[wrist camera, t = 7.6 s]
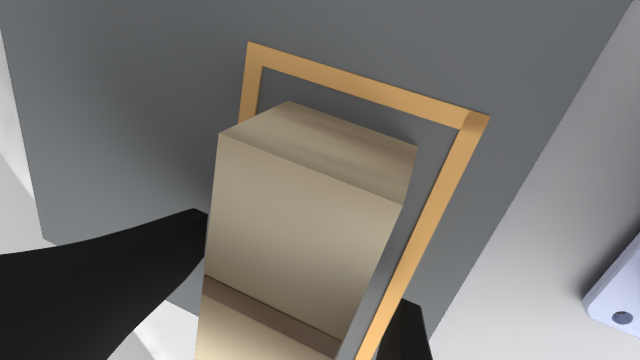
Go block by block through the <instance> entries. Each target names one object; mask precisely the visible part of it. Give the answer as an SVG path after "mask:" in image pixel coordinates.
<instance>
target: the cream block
mask: <svg viewBox="0 0 640 360" xmlns="http://www.w3.org/2000/svg"><path fill="white" fill-rule="evenodd" d="M418 148H419V147H418V146H415V145H412V144H410V143H407V142H404V141H401V140H398V139H396V138H393V137H390V136H387V135H384V134H382V133H379V132H376V131H373V130H370V129H368V128H365V127H362V126H359V125H356V124H354V123H351V122H348V121H345V120H342V119H339V118H337V117H334V116H331V115H328V114H325V113H323V112H320V111H317V110H314V109H311V108H309V107H306V106H303V105H300V104H297V103H295V102H292V101H289V100H288V101H286V102H284V103H282V104H280V105H278V106H275V107H273V108H271V109H269V110H267V111H265V112H263V113H261V114H258V115H256V116H254V117H252V118H250V119H248V120H246V121H244V122H241V123H239V124H237V125H235V126H233V127H231V128H229V129H227V130H224V131H222V132H220V133H219V136H218V145H217V155H216V164H215V173H214V182H213V191H212V201H211V210H210V219H209V228H208V237H207V247H206V256H205V265H204V274H203V284H202V293H201V302H200V311H199V320H198V330H197V339H196V348H195V357H194V360H336V357H337V355H338V353H339V351H340V348H341V346H342V344H343V341H344V339H345V337H346V335H347V332H348V330H349V328H350V326H351V323H352V321H353V319H354V316H355V314H356V312H357V310H358V307H359V305H360V303H361V300H362V298H363V296H364V294H365V291H366V289H367V287H368V284H369V282H370V280H371V278H372V275H373V273H374V271H375V269H376V266H377V264H378V262H379V259H380V257H381V255H382V253H383V250H384V248H385V246H386V243H387V241H388V239H389V237H390V234H391V232H392V230H393V227H394V225H395V223H396V221H397V218H398V216H399V214H400V212H401V209H402V207H403V204H404V200H405V197H406V193H407V189H408V185H409V181H410V178H411V174H412V170H413V166H414V163H415V159H416V155H417V151H418Z"/></svg>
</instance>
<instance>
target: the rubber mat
mask: <svg viewBox="0 0 640 360" xmlns="http://www.w3.org/2000/svg"><path fill="white" fill-rule="evenodd" d="M632 1H633V0H0V29H1V33H2V38H3V43H4V48H5V53H6V58H7V63H8V68H9V73H10V78H11V83H12V88H13V92H14V97H15V102H16V107H17V112H18V117H19V122H20V127H21V132H22V137H23V142H24V147H25V151H26V156H27V161H28V166H29V171H30V176H31V181H32V186H33V191H34V196H35V201H36V206H37V210H38V215H39V220H40V225H41V230H42V235H43V238H44V239H45V240H47V241H49V242H51V243H53V244H55V245H57V246H61V245H65V244H70V243H75V242H80V241H84V240H88V239H92V238H96V237H100V236H104V235H107V234H111V233H115V232H118V231H122V230H125V229H129V228H132V227H135V226H138V225H142V224H145V223H148V222H151V221H154V220H157V219H160V218H163V217H166V216H169V215H172V214H175V213H178V212H181V211H185V210H188V209H192V208H195V209H198V210H200V211H202V212H205V213H207V214H208V222H207V233H206V244H205V255H204V258H203V259H202V260H201V262H200V263H199V264H198V265H197V267H196V268H195V269H194V270H193V272H192V273H191V274H190V275H189V276H188V278H187V279H186V280H185V281H184V282H183V283H182V284H181V285H180V286H179V287H178V288H177V289H176V290H175V291H174V292H172V293H171V294H170V295H169V296H168V297H167V298H166V299H165V300H167V301H168V302H170V303H172V304H174V305H176V306H178V307H180V308H182V309H184V310H186V311H188V312H190V313H192V314H194V315H196V316H198V317H199V311H200V302H201V293H202V284H203V274H204V265H205V256H206V247H207V237H208V228H209V219H210V210H211V201H212V191H213V182H214V173H215V164H216V155H217V145H218V136H219V133H220V132H222V131H224V130H227V129H229V128H231V127H233V126H235V125H237V124H239V123H241V122H244V121H246V120H248V119H250V118H252V117H254V116H256V115H258V114H261V113H263V112H265V111H267V110H269V109H271V108H273V107H275V106H278V105H280V104H282V103H284V102H286V101H288V100H289V101H292V102H295V103H297V104H300V105H303V106H306V107H309V108H311V109H314V110H317V111H320V112H323V113H325V114H328V115H331V116H334V117H337V118H339V119H342V120H345V121H348V122H351V123H354V124H356V125H359V126H362V127H365V128H368V129H370V130H373V131H376V132H379V133H382V134H384V135H387V136H390V137H393V138H396V139H398V140H401V141H404V142H407V143H410V144H412V145H415V146H418V147H419V148H418V151H417V155H416V159H415V163H414V166H413V170H412V174H411V178H410V181H409V185H408V189H407V193H406V197H405V200H404V204H403V207H402V209H401V212H400V214H399V216H398V218H397V221H396V223H395V225H394V227H393V230H392V232H391V234H390V237H389V239H388V241H387V243H386V246H385V248H384V250H383V253H382V255H381V257H380V259H379V262H378V264H377V266H376V269H375V271H374V273H373V275H372V278H371V280H370V282H369V284H368V287H367V289H366V291H365V294H364V296H363V298H362V300H361V303H360V305H359V307H358V310H357V312H356V314H355V316H354V319H353V321H352V323H351V326H350V328H349V330H348V332H347V335H346V337H345V339H344V341H343V344H342V346H341V348H340V351H339V353H338V355H337V357H336V360H376V356H377V353H378V349H379V345H380V342H381V338H382V336H383V334H384V332H385V330H386V328H387V326H388V324H389V322H390V320H391V318H392V316H393V314H394V312H395V310H396V308H397V306H398V304H399V302H400V300H401V298H403V299H406V300H408V301H410V302H413V303H415V304H417V305H420V306H421V308H422V312H423V318H424V324H425V329H426V333H427V338H428V341H429V339H430V337H431V336H432V334H433V332H434V331H435V329H436V327H437V326H438V324H439V322H440V321H441V319H442V317H443V316H444V314H445V312H446V311H447V309H448V307H449V306H450V304H451V302H452V301H453V299H454V297H455V296H456V294H457V292H458V291H459V289H460V287H461V286H462V284H463V282H464V281H465V279H466V277H467V276H468V274H469V272H470V271H471V269H472V267H473V266H474V264H475V262H476V261H477V259H478V257H479V256H480V254H481V252H482V251H483V249H484V247H485V246H486V244H487V242H488V241H489V239H490V237H491V236H492V234H493V232H494V231H495V229H496V227H497V226H498V224H499V222H500V221H501V219H502V217H503V216H504V214H505V212H506V211H507V209H508V207H509V206H510V204H511V202H512V201H513V199H514V197H515V196H516V194H517V192H518V191H519V189H520V187H521V186H522V184H523V182H524V181H525V179H526V177H527V176H528V174H529V172H530V171H531V169H532V167H533V166H534V164H535V162H536V161H537V159H538V157H539V156H540V154H541V152H542V151H543V149H544V147H545V146H546V144H547V142H548V141H549V139H550V137H551V136H552V134H553V132H554V131H555V129H556V127H557V126H558V124H559V122H560V121H561V119H562V117H563V116H564V114H565V112H566V111H567V109H568V107H569V106H570V104H571V102H572V101H573V99H574V97H575V96H576V94H577V92H578V91H579V89H580V87H581V86H582V84H583V82H584V81H585V79H586V77H587V76H588V74H589V72H590V71H591V69H592V67H593V66H594V64H595V62H596V61H597V59H598V57H599V56H600V54H601V52H602V51H603V49H604V47H605V46H606V44H607V42H608V41H609V39H610V37H611V36H612V34H613V32H614V31H615V29H616V27H617V26H618V24H619V22H620V21H621V19H622V17H623V16H624V14H625V12H626V11H627V9H628V7H629V6H630V4H631V2H632Z"/></svg>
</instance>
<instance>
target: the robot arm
mask: <svg viewBox="0 0 640 360" xmlns="http://www.w3.org/2000/svg"><path fill="white" fill-rule="evenodd" d="M207 222H208V214H207V213H205V212H202V211H200V210H198V209H195V208H192V209H188V210H185V211H181V212H178V213H175V214H172V215H169V216H166V217H163V218H160V219H157V220H154V221H151V222H148V223H145V224H142V225H138V226H135V227H132V228H129V229H125V230H122V231H118V232H115V233H111V234H107V235H104V236H100V237H96V238H92V239H88V240H84V241H80V242H75V243H70V244H65V245H61V246H55V247H49V248H43V249H37V250H30V251H24V252H17V253H10V254H1V255H0V360H107V359H108V357H109V356H110V355H111V354H112V353H113V352H114V351H115V350H116V348H117V347H118V346H119V345H120V344H121V343H122V342H123V340H124V339H125V338H126V337H127V336H128V335H129V334H130V333H131V332H132V331H133V330H134V329H135V328H136V327H137V326H138V325H139V324H140V323H141V322H142V321H143V320H144V319H145V318H146V317H147V316H148V315H149V314H150V313H151V312H152V311H154V310H155V309H156V308H157V307H158V306H159V305H160V304H161V303H162V302H163V301H164V300H165V299H166V298H167V297H168V296H169V295H170V294H171V293H172V292H174V291H175V290H176V289H177V288H178V287H179V286H180V285H181V284H182V283H183V282H184V281H185V280H186V279H187V278H188V276H189V275H190V274H191V273H192V272H193V270H194V269H195V268H196V267H197V265H198V264H199V263H200V262H201V260H202V259H203V258H204V255H205V244H206V233H207ZM582 305H583V308H584V310H585V312H586V314H587V315H588V316H589V317H590V318H591V319H593V320H595V321H597V322H600V323H602V324H605V325H607V326H610V327H612V328H615V329H617V330H620V331H622V332H625V333H627V334H630V335H632V336H635V337H637V338H640V233H639V234H638V235H637V236H636V237H635V238H634V240H633V241H632V242H631V243H630V244H629V245H628V247H627V248H626V249H625V250H624V251H623V252H622V254H621V255H620V256H619V257H618V258H617V259H616V261H615V262H614V263H613V264H612V265H611V266H610V267H609V269H608V270H607V271H606V272H605V273H604V274H603V276H602V277H601V278H600V279H599V280H598V281H597V283H596V284H595V285H594V286H593V287H592V288H591V290H590V291H589V292H588V293H587V294H586V295H585V297H584V298H583V300H582ZM620 311H625V312H626V313H624V314H623V315H613V314H614V313H616V312H620ZM376 360H433V358H432V355H431V351H430V347H429V342H428V338H427V333H426V329H425V324H424V318H423V312H422V308H421V306H420V305H417V304H415V303H413V302H410V301H408V300H406V299H403V298H401V300H400V302H399V304H398V306H397V308H396V310H395V312H394V314H393V316H392V318H391V320H390V322H389V324H388V326H387V328H386V330H385V332H384V334H383V336H382V338H381V342H380V345H379V349H378V353H377V356H376Z"/></svg>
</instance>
